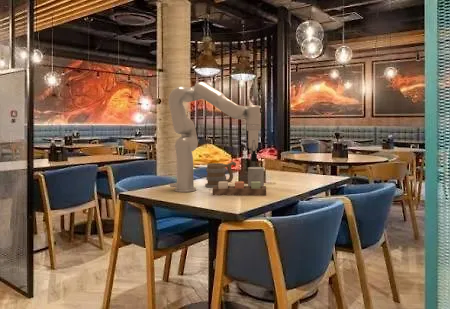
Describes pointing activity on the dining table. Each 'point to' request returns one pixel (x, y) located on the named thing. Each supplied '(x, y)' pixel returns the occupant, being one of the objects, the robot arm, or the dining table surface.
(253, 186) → the sage key
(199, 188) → the dining table surface
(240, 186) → the terracotta key
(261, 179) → the grey stone cylinder
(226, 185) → the cream key
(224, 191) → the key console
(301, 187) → the dining table surface
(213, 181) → the tankard
